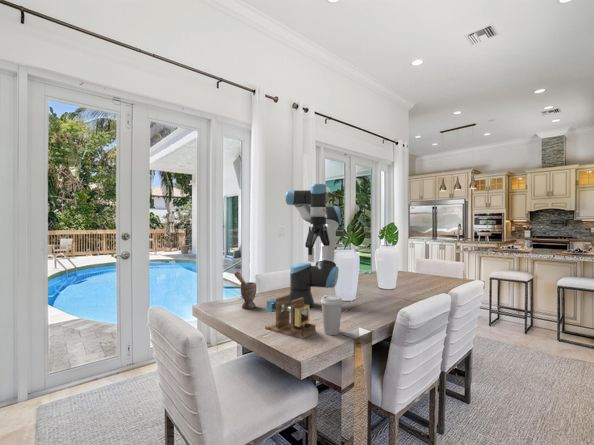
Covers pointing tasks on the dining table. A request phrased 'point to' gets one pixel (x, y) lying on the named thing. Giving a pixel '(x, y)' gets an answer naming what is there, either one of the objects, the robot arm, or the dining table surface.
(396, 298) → the dining table surface
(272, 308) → the shaft
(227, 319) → the dining table surface
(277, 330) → the bracket
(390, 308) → the dining table surface
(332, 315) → the coffee cup
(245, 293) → the mortar and pestle
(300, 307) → the tan wooden piece
